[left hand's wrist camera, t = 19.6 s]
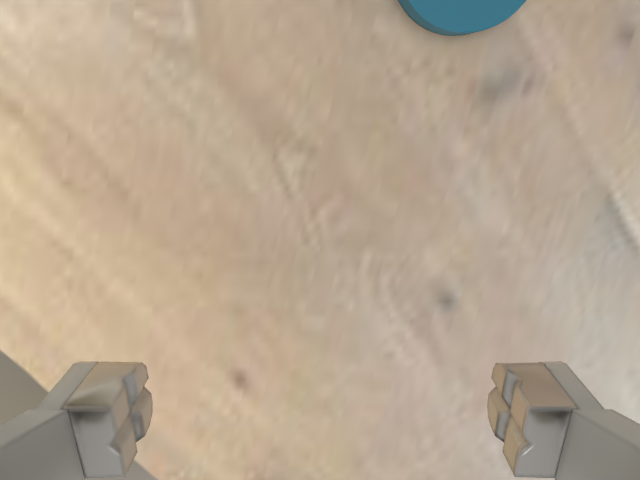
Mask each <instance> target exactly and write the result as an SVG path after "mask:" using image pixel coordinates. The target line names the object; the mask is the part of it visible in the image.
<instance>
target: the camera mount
mask: <svg viewBox="0 0 640 480" xmlns="http://www.w3.org/2000/svg"><path fill="white" fill-rule="evenodd" d="M398 1H399V2H400V4H401V6H402V7H403V9H404V10H405V12H406V13H407V14H408V15H409V16H410V17H411V18H412V19H413V20H414V21H415V22H416V23H417V24H419V25H420V26H422V27H423V28H425V29H427V30H429V31H432V32H434V33H438V34H442V35H450V36H456V35H465V34H469V33H474V32H478V31H482V30H486V29H488V28H491V27H493V26H496V25H498V24H500V23H501V22H503V21H505V20H506V19H508V18H509V17H510V16H511V15H513V14H514V13H515V12H516V11H517V10H518V9H519V8H520V7H521V6H522V5H523V3H524V2H525V1H526V0H398Z"/></svg>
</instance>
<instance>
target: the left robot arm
mask: <svg viewBox="0 0 640 480" xmlns="http://www.w3.org/2000/svg"><path fill="white" fill-rule="evenodd" d="M147 380H148V373H147V368H146V365H144V364H143V363H138V362H77V363H75V364H73V365H72V366H71V367H70V369H69V370H68V371H67V372H66V373H65V375H64V376H63V377H62V378H61V379H60V380H59V382H58V383H57V384H56V385H55V386H54V388H53V389H52V390H51V391H50V392H49V394H48V395H47V396H46V397H45V398H44V399H43V401H42V402H41V403H40V404H39V405H38V407H37V408H36V409H34V410H26V411H24V412H22V413H21V414H19V415H17V416H15V417H13V418H11V419H9V420H7V421H5V422H4V423H2V424H0V480H85V478H103V477H125V476H126V474H127V472H128V470H129V468H130V466H131V464H132V462H133V460H134V458H135V456H136V453H137V447H136V442H137V441H139V440H140V439H141V438H143V437H144V436H145V435H146V432H147V430H148V428H149V426H150V421H151V417H152V396H151V393H150V392H149V391H148V390H147V389H146V388H145V387H144V385H145V383H146V381H147ZM492 380H493V381H494V383H495V385H496V387H495V388H494V389H493V390H492V391H491V392H490V393H489V396H488V404H487V408H488V418H489V422H490V425H491V428H492V430H493V432H494V435H495V436H496V437H497V438H499V439H500V440H502V441H503V442H504V447H503V453H504V456H505V458H506V460H507V462H508V464H509V466H510V468H511V470H512V472H513V474H514V476H515V477H536V478H555V480H640V424H638V423H636V422H634V421H633V420H631V419H629V418H627V417H625V416H623V415H621V414H619V413H618V412H616V411H614V410H606V409H604V408H603V407H602V405H601V404H600V403H599V402H598V401H597V399H596V398H595V397H594V396H593V395H592V394H591V392H590V391H589V390H588V389H587V388H586V386H585V385H584V384H583V383H582V382H581V381H580V379H579V378H578V377H577V376H576V375H575V373H574V372H573V371H572V370H571V369H570V368H569V366H568V365H567V364H565V363H563V362H561V361H556V362H539V363H496V364H495V366H494V368H493V372H492Z"/></svg>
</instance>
